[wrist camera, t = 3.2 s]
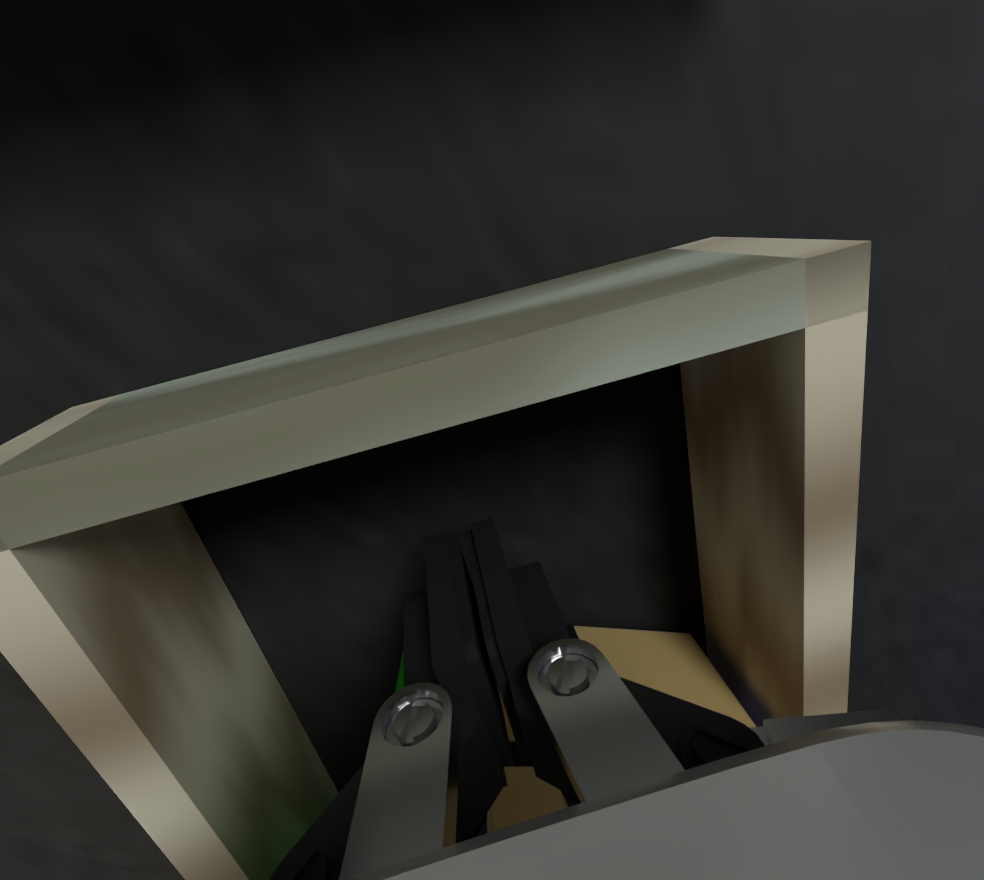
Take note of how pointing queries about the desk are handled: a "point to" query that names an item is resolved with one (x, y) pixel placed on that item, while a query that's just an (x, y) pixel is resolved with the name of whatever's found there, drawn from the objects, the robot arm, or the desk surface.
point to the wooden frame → (401, 415)
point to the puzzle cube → (640, 659)
